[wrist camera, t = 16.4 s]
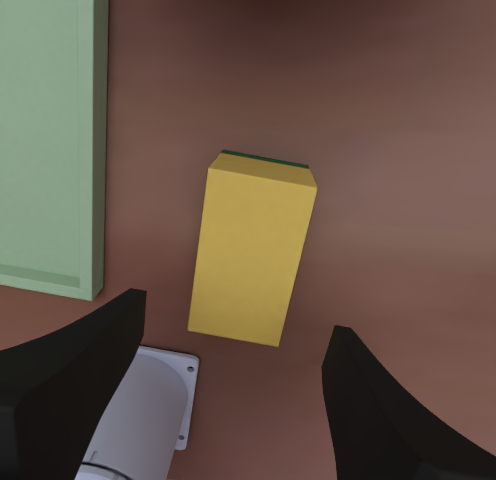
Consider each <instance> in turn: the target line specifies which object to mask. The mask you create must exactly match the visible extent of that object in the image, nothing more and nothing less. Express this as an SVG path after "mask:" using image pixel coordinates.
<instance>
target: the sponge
mask: <svg viewBox="0 0 496 480" xmlns="http://www.w3.org/2000/svg"><path fill="white" fill-rule="evenodd" d="M317 189H318V188H317V185H316V183H315V181H314V178H313V176H312V173H311V171H310V169H309V166H308V165H303V164H297V163H292V162H286V161H281V160H275V159H270V158H265V157H259V156H254V155H248V154H243V153H237V152H232V151H226V150H222V152H221V153H220V154H219V155H218V157H217V158H216V159H215V160H214V162H213V163H212V164H211V166H210V167H209V168H208V174H207V182H206V190H205V198H204V206H203V213H202V221H201V229H200V237H199V245H198V252H197V260H196V268H195V276H194V283H193V291H192V299H191V307H190V315H189V322H188V331H193V332H198V333H204V334H209V335H215V336H220V337H226V338H232V339H237V340H243V341H248V342H254V343H259V344H265V345H270V346H276V347H278V345H279V341H280V337H281V333H282V329H283V325H284V321H285V317H286V313H287V309H288V305H289V301H290V297H291V293H292V289H293V285H294V281H295V277H296V273H297V269H298V265H299V261H300V257H301V253H302V249H303V245H304V241H305V237H306V233H307V229H308V225H309V221H310V217H311V213H312V209H313V205H314V201H315V197H316V193H317Z"/></svg>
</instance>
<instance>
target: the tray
mask: <svg viewBox="0 0 496 480" xmlns="http://www.w3.org/2000/svg"><path fill="white" fill-rule="evenodd" d="M108 9H109V0H0V285H6V286H11V287H17V288H22V289H28V290H33V291H39V292H45V293H50V294H56V295H61V296H67V297H72V298H78V299H83V300H89V301H92V300H93V299H94V298H95V296H96V295H97V294H98V293H99V292H100V290H101V289H102V288H103V274H104V221H105V168H106V115H107V62H108Z"/></svg>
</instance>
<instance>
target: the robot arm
mask: <svg viewBox="0 0 496 480" xmlns="http://www.w3.org/2000/svg"><path fill="white" fill-rule="evenodd" d="M146 294H147V291H144V290H138V289H133V288H130V289H129V290H127V291H125V292H124V293H122V294H121V295H119V296H117V297H116V298H114V299H113V300H111V301H110V302H108V303H106V304H105V305H103V306H102V307H100V308H98V309H97V310H95V311H93V312H92V313H90V314H88V315H86V316H84V317H82V318H81V319H79V320H77V321H75V322H73V323H71V324H69V325H67V326H65V327H63V328H61V329H59V330H57V331H54V332H52V333H50V334H47V335H45V336H42V337H40V338H37V339H34V340H31V341H29V342H26V343H23V344H20V345H17V346H14V347H11V348H8V349H4V350H1V351H0V480H166V478H167V475H168V471H169V467H170V464H171V460H172V456H173V453H174V449H176V450H184V449H185V448H186V446H187V440H188V433H189V427H190V420H191V413H192V407H193V400H194V393H195V387H196V380H197V373H198V367H199V359H198V358H197V357H196V356H194V355H189V354H183V353H178V352H172V351H167V350H161V349H156V348H150V347H144V346H139V345H140V343H141V340H142V338H143V335H144V321H145V307H146ZM189 367H193V368H189ZM322 385H323V395H324V400H325V406H326V411H327V416H328V421H329V427H330V432H331V437H332V442H333V447H334V453H335V460H336V470H337V480H496V456H494V455H492V454H491V453H489V452H487V451H486V450H484V449H482V448H481V447H479V446H478V445H476V444H475V443H473V442H472V441H470V440H469V439H467V438H466V437H464V436H462V435H461V434H460V433H458V432H457V431H455V430H454V429H453V428H451V427H450V426H448V425H447V424H446V423H444V422H443V421H442V420H441V419H439V418H438V417H437V416H435V415H434V414H433V413H432V412H430V411H429V410H428V409H427V408H426V407H424V406H423V405H422V404H421V403H420V402H419V401H418V400H416V399H415V398H414V397H413V396H412V395H411V394H410V393H409V392H408V391H407V390H406V389H404V388H403V387H402V386H401V385H400V384H399V383H398V381H397V380H396V379H395V378H394V377H393V376H392V375H391V374H390V373H389V372H388V371H387V370H386V369H385V368H384V367H383V365H382V364H381V363H380V362H379V361H378V360H377V359H376V357H375V356H374V355H373V354H372V353H371V351H370V350H369V349H368V348H367V347H366V345H365V344H364V343H363V342H362V340H361V339H360V338H359V337H358V336H357V334H356V333H355V332H354V331H353V330H352V329H351V328H348V327H343V326H337V325H335V327H334V330H333V333H332V336H331V339H330V342H329V346H328V349H327V352H326V355H325V358H324V361H323V365H322ZM182 435H183V436H182Z"/></svg>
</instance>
